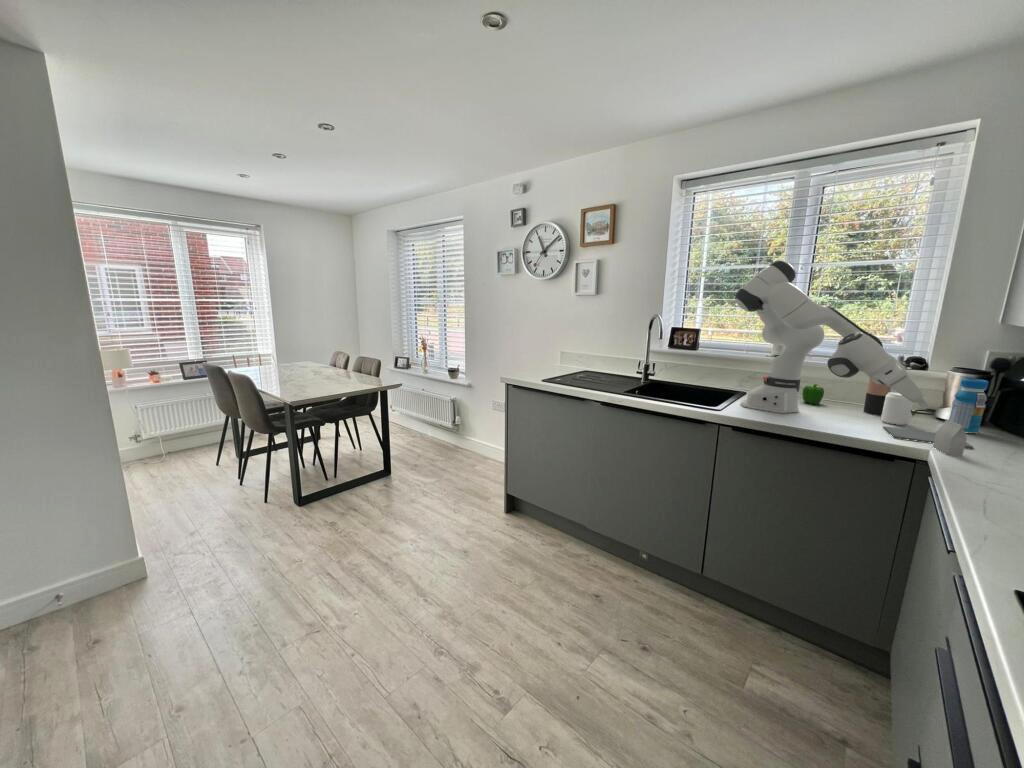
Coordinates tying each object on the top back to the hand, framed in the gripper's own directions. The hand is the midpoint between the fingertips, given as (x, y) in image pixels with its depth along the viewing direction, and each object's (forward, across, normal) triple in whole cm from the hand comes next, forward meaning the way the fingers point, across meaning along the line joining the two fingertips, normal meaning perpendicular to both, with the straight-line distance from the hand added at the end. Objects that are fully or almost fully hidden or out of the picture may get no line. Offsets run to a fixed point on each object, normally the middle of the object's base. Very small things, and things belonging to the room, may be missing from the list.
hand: (921, 404), depth 133 cm
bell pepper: (-5, -58, -27) cm, 64 cm away
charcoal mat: (+16, -17, -6) cm, 24 cm away
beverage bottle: (+28, -37, +4) cm, 47 cm away
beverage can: (+13, -36, -9) cm, 39 cm away
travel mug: (+11, -52, -12) cm, 54 cm away
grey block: (+17, -1, -5) cm, 18 cm away
